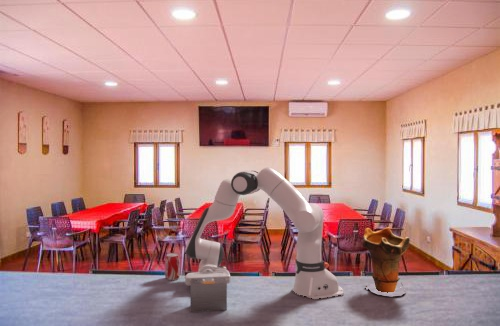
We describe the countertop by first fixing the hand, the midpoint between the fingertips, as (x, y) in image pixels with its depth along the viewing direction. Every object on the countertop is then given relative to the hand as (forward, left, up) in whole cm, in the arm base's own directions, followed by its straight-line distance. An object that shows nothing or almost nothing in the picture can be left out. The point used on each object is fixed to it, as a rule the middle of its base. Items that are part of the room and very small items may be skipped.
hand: (208, 284), depth 159 cm
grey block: (0, +9, -5) cm, 10 cm away
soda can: (+17, -24, -5) cm, 30 cm away
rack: (0, +12, -5) cm, 13 cm away
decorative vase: (-80, +3, -5) cm, 80 cm away
